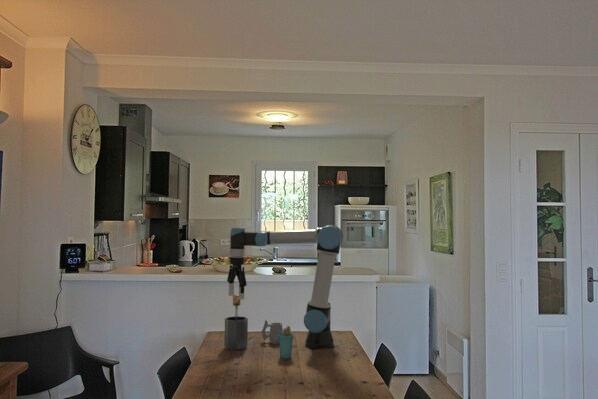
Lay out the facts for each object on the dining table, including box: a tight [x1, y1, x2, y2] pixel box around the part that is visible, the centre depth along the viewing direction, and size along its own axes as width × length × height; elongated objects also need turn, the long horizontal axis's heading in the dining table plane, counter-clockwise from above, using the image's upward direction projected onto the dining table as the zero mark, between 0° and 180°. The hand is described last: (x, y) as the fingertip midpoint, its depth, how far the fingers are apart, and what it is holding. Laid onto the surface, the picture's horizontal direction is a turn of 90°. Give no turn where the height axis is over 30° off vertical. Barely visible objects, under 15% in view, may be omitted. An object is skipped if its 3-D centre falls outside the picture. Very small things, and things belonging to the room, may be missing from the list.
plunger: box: [232, 294, 241, 321], centre depth 243 cm, size 6×6×17 cm
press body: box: [223, 315, 249, 351], centre depth 244 cm, size 15×11×15 cm
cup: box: [278, 325, 295, 359], centre depth 226 cm, size 14×8×15 cm, turn 175°
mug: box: [261, 319, 284, 345], centre depth 255 cm, size 8×12×12 cm, turn 98°
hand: (236, 297), depth 244 cm, fingers open, 13 cm apart
